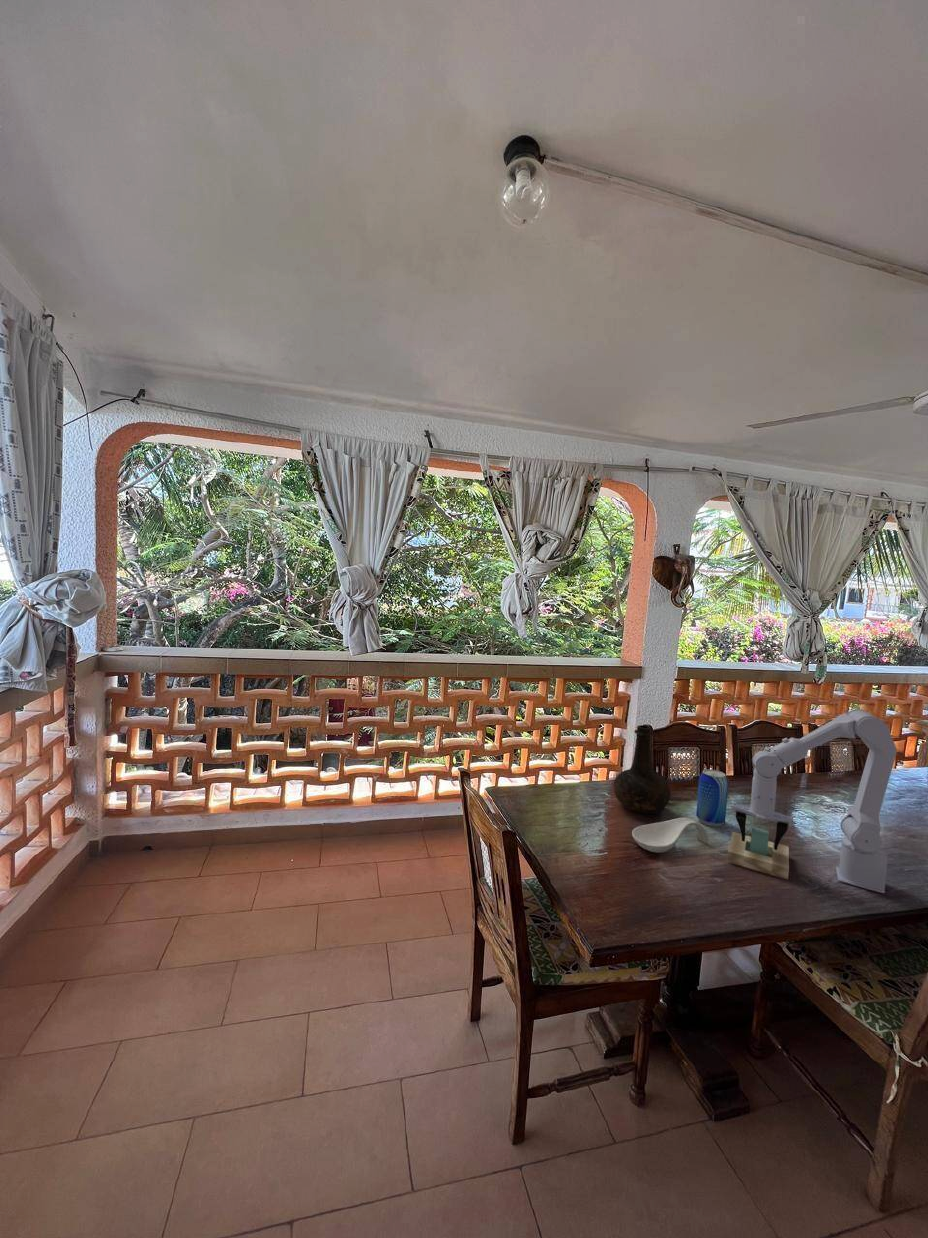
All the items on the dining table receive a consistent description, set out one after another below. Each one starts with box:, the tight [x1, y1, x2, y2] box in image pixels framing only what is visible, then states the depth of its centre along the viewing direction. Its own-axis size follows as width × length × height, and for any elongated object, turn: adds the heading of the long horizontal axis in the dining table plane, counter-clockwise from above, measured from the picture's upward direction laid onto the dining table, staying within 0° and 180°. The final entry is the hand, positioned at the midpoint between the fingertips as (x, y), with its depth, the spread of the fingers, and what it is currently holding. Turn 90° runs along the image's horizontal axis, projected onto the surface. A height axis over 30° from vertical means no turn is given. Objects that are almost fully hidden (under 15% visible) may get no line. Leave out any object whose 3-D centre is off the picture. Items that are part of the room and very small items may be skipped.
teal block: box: [750, 826, 770, 856], centre depth 141 cm, size 4×4×8 cm
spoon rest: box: [631, 817, 710, 854], centre depth 147 cm, size 24×12×7 cm, turn 110°
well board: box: [726, 831, 790, 880], centre depth 141 cm, size 14×14×3 cm
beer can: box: [695, 768, 729, 828], centre depth 164 cm, size 8×8×16 cm
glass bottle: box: [613, 724, 671, 815], centre depth 171 cm, size 18×18×28 cm
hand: (759, 844), depth 141 cm, fingers open, 7 cm apart
